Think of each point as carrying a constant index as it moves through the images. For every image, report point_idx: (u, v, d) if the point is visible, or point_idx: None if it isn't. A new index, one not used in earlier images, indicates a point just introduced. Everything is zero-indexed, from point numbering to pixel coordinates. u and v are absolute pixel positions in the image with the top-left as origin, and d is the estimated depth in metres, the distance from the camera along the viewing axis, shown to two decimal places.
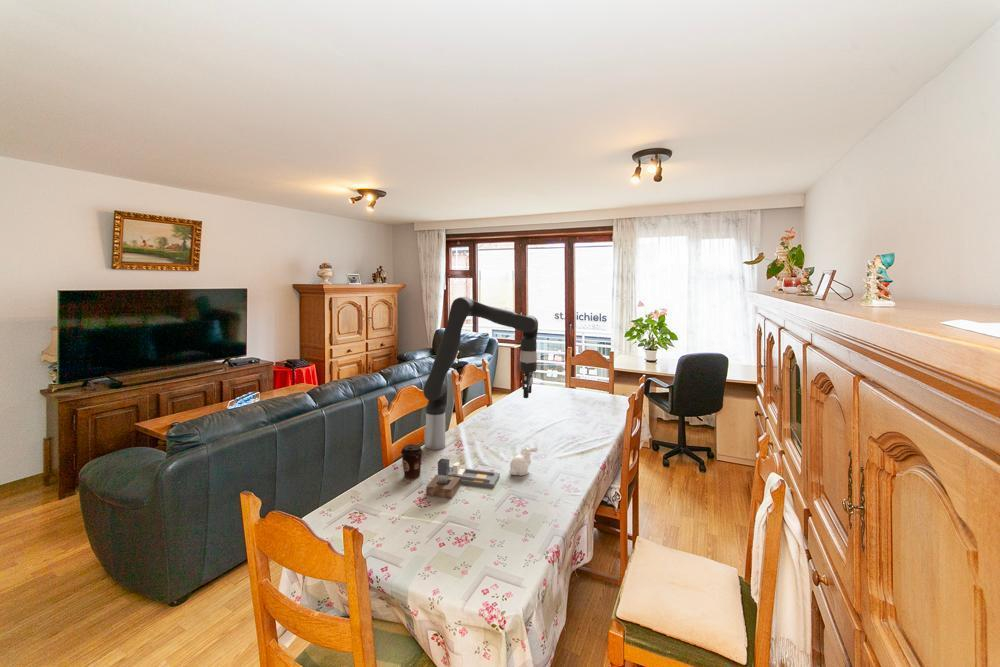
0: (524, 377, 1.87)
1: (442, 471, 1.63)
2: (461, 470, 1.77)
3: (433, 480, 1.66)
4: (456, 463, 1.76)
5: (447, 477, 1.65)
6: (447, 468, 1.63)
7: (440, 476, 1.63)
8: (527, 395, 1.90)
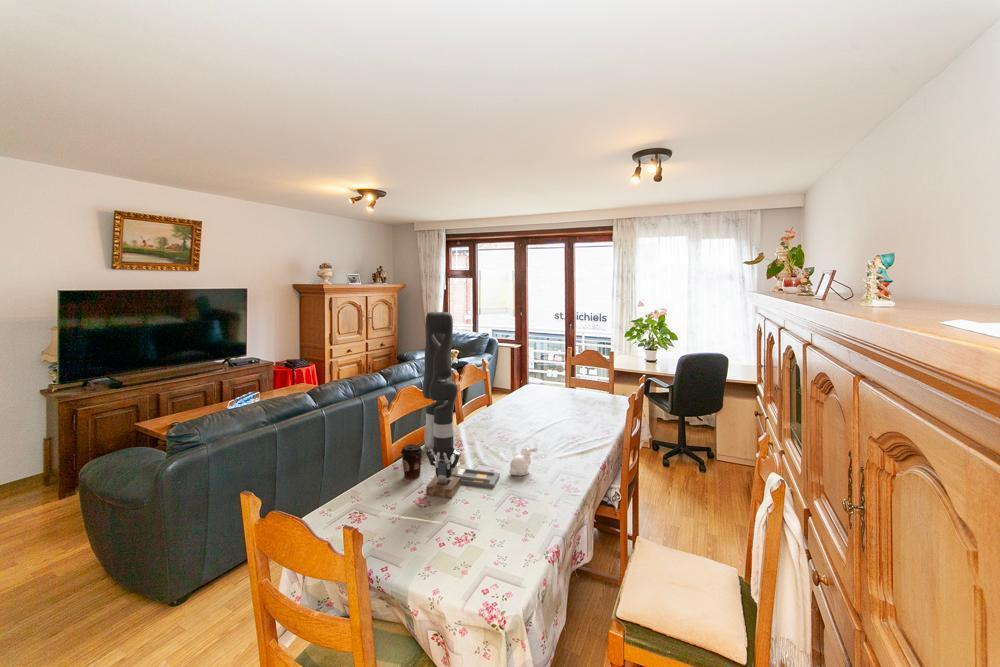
0: (459, 455, 1.61)
1: (442, 471, 1.63)
2: (461, 470, 1.77)
3: (433, 480, 1.66)
4: None
5: None
6: None
7: (440, 476, 1.63)
8: None
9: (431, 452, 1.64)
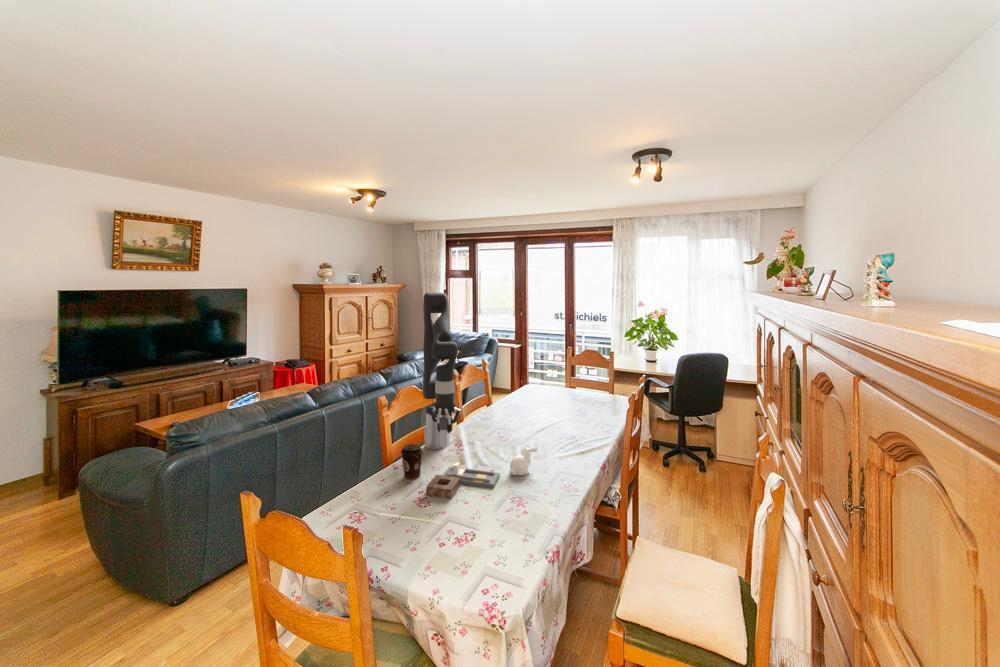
0: (459, 411, 1.72)
1: (443, 426, 1.73)
2: (461, 470, 1.77)
3: (433, 480, 1.66)
4: (456, 463, 1.76)
5: None
6: None
7: (442, 431, 1.74)
8: None
9: (433, 409, 1.75)
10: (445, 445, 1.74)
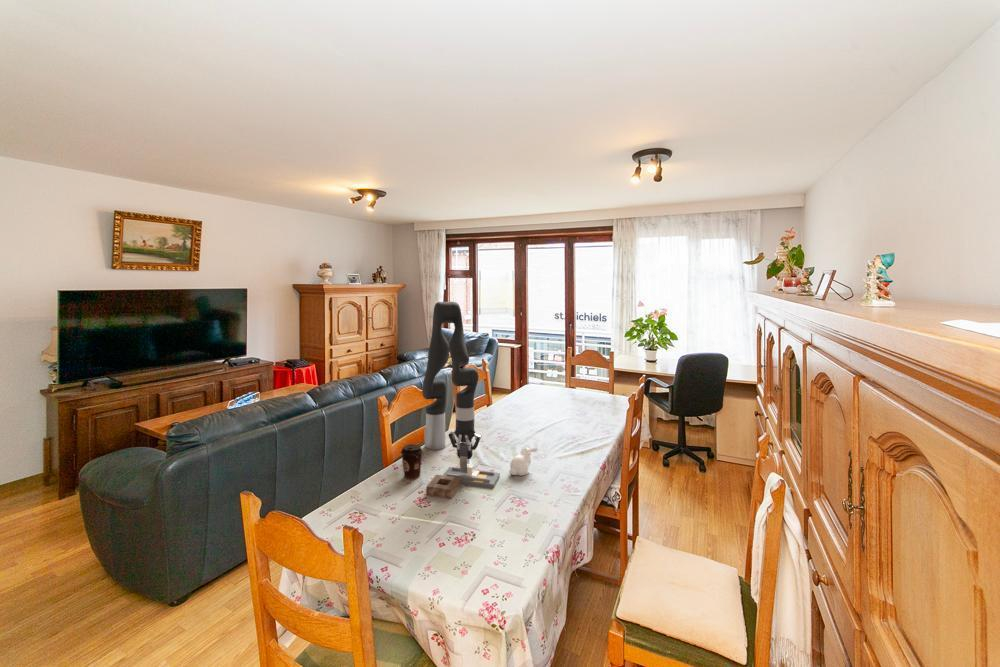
0: (480, 438, 1.71)
1: (463, 452, 1.72)
2: (475, 472, 1.75)
3: (433, 480, 1.66)
4: (470, 465, 1.75)
5: None
6: None
7: (461, 457, 1.73)
8: None
9: (453, 435, 1.74)
10: (465, 471, 1.74)
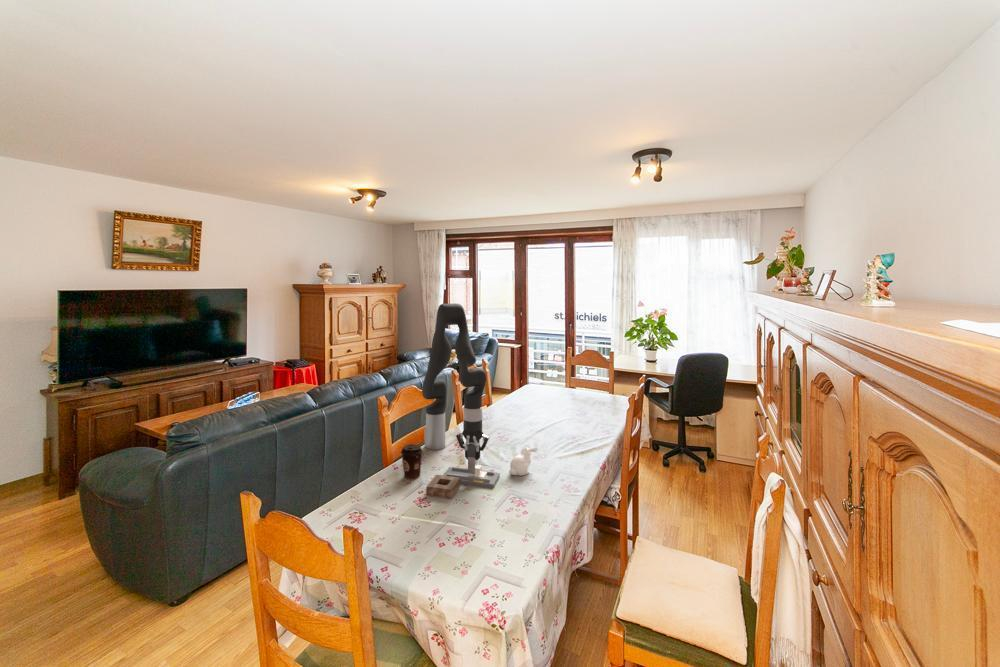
0: (488, 439, 1.71)
1: (471, 453, 1.72)
2: (483, 473, 1.75)
3: (433, 480, 1.66)
4: (478, 466, 1.74)
5: None
6: None
7: (469, 458, 1.72)
8: None
9: (461, 435, 1.73)
10: (473, 472, 1.73)
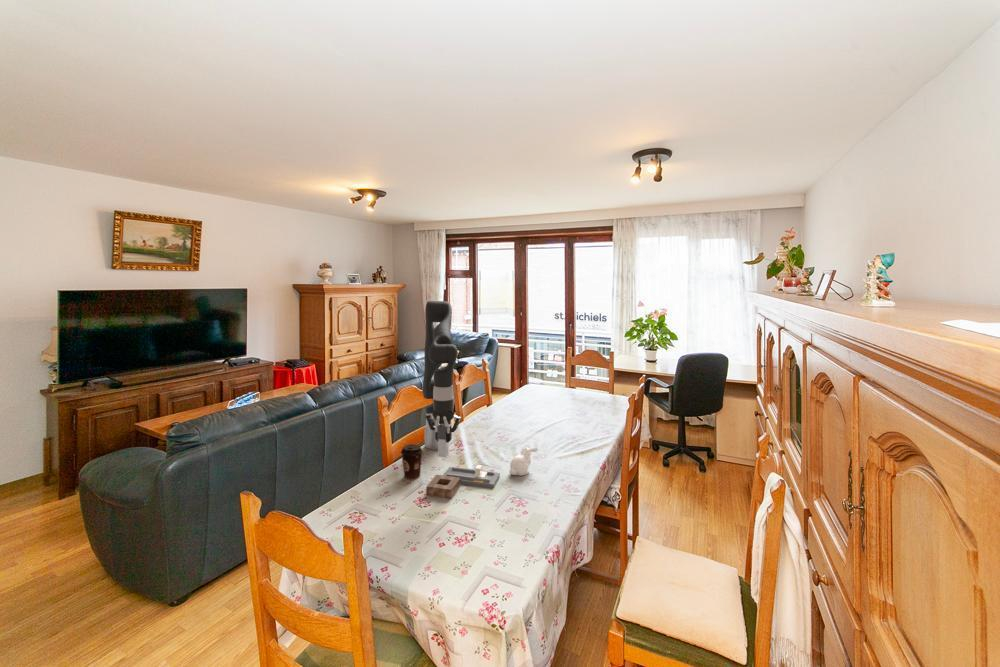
0: (459, 419, 1.60)
1: (441, 435, 1.61)
2: (483, 473, 1.75)
3: (433, 480, 1.66)
4: (478, 466, 1.74)
5: None
6: None
7: (440, 440, 1.61)
8: None
9: (431, 416, 1.62)
10: (443, 456, 1.62)
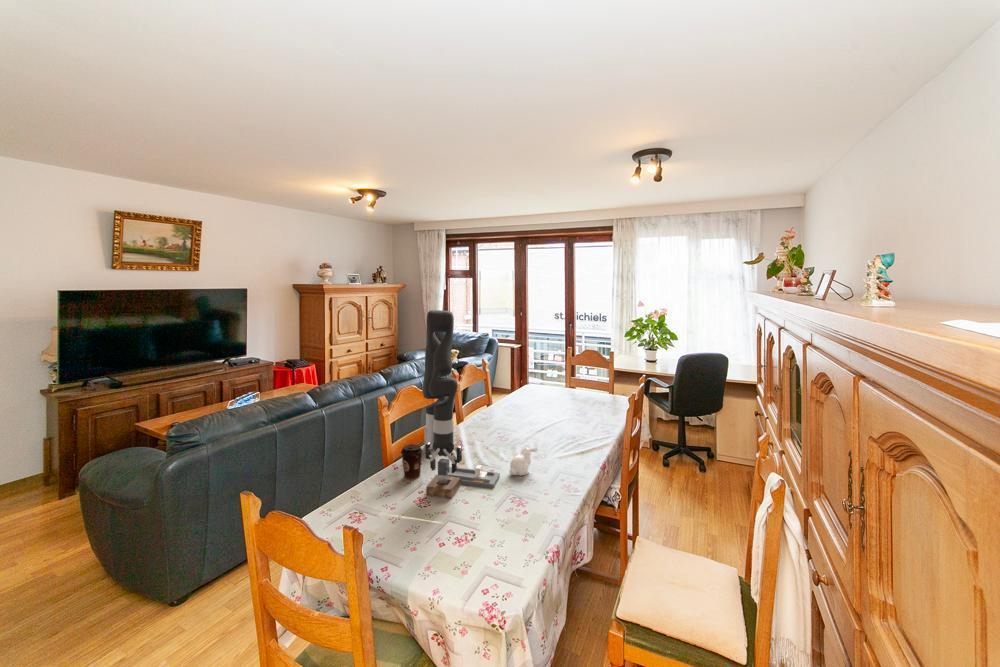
0: (460, 448, 1.61)
1: (442, 471, 1.62)
2: (483, 473, 1.75)
3: (433, 480, 1.66)
4: (478, 466, 1.74)
5: (447, 477, 1.65)
6: (447, 468, 1.63)
7: (440, 476, 1.63)
8: None
9: (430, 446, 1.64)
10: None
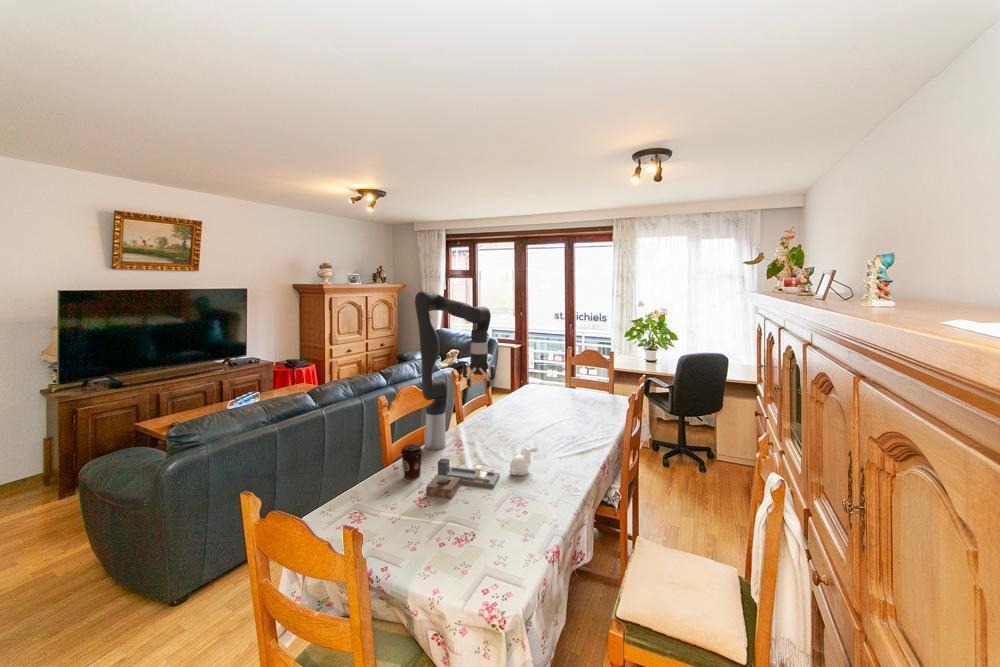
0: (493, 367, 1.89)
1: (442, 471, 1.62)
2: (483, 473, 1.75)
3: (433, 480, 1.66)
4: (478, 466, 1.74)
5: (447, 477, 1.65)
6: (447, 468, 1.63)
7: (440, 476, 1.63)
8: None
9: (467, 367, 1.92)
10: None
